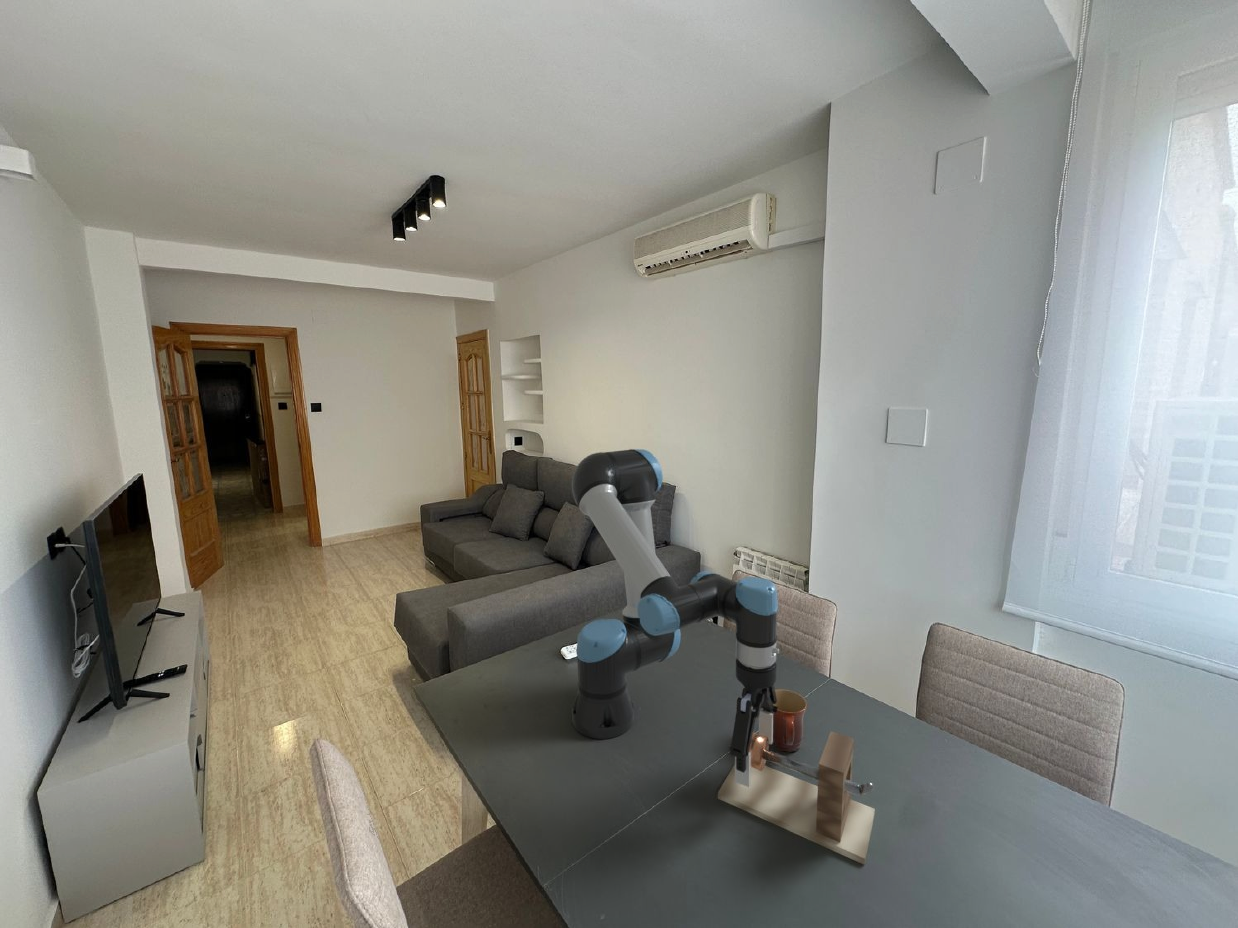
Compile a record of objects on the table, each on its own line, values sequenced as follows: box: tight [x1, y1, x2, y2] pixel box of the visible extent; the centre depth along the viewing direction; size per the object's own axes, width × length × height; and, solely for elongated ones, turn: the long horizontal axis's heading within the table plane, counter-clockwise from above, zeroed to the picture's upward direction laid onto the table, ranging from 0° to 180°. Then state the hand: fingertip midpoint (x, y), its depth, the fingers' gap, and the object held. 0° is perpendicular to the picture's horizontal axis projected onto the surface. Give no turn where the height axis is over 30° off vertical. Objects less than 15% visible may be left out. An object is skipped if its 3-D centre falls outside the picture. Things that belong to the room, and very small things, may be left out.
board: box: [717, 764, 876, 866], centre depth 96 cm, size 26×12×1 cm, turn 56°
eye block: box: [816, 730, 855, 842], centre depth 91 cm, size 4×10×13 cm, turn 146°
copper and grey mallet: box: [749, 731, 875, 797], centre depth 94 cm, size 24×6×6 cm, turn 56°
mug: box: [772, 688, 808, 753], centre depth 111 cm, size 12×9×10 cm
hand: (754, 761), depth 100 cm, fingers open, 13 cm apart
